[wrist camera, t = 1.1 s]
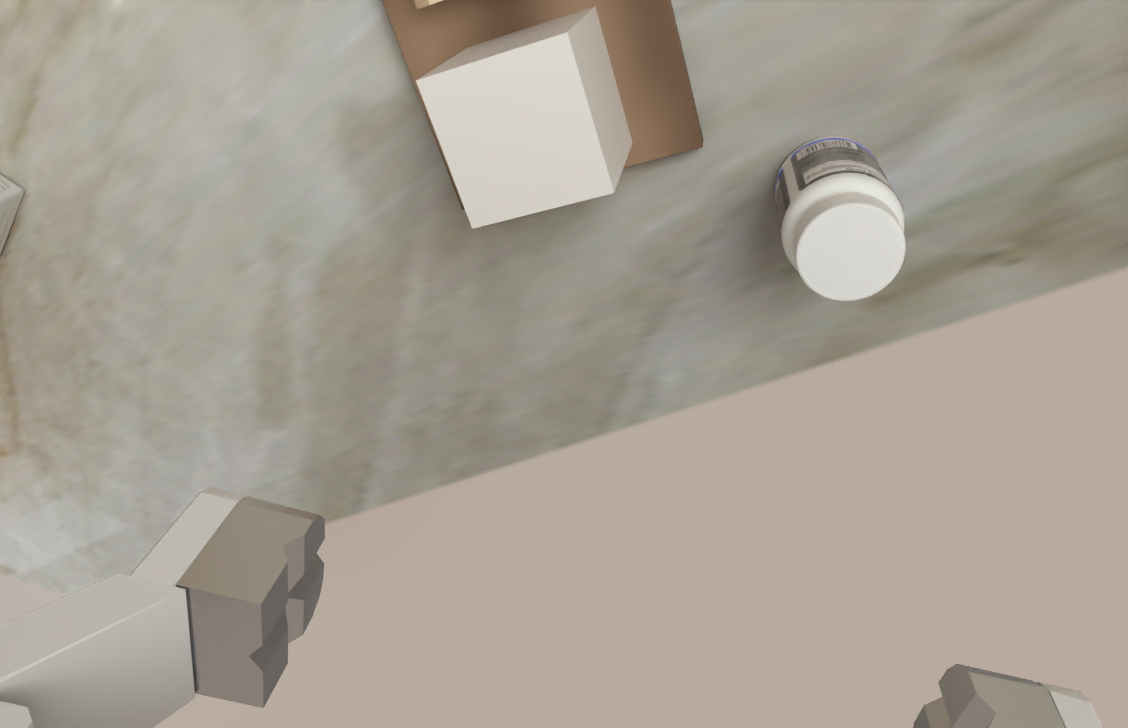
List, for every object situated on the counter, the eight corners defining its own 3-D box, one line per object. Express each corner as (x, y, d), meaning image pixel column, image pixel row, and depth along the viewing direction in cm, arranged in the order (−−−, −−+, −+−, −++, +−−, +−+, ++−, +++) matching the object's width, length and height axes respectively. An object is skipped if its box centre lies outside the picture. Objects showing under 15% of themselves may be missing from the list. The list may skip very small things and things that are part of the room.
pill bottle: (838, 250, 39) (862, 332, 32) (754, 202, 39) (760, 274, 31) (903, 165, 37) (945, 234, 29) (814, 113, 36) (836, 170, 29)
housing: (595, 5, 34) (567, 32, 28) (632, 143, 37) (613, 193, 31) (467, 47, 36) (415, 80, 30) (511, 175, 39) (472, 228, 33)
